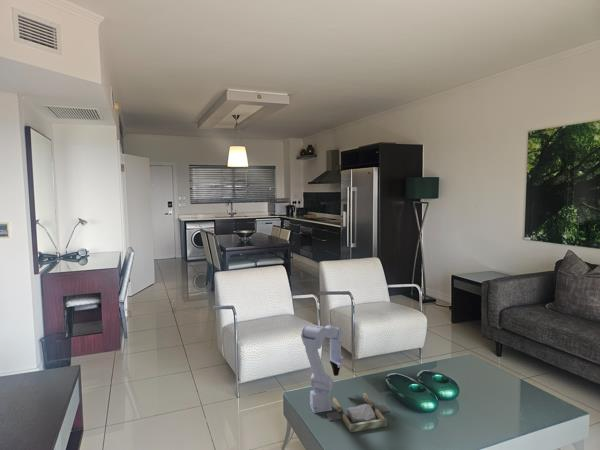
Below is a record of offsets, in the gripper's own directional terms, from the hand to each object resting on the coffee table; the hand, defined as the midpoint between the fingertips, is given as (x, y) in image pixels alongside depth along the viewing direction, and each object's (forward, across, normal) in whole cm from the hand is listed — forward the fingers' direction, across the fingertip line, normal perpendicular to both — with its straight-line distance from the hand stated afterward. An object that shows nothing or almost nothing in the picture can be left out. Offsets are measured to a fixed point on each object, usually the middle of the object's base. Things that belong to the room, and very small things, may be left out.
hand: (336, 375), depth 206 cm
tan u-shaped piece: (+9, -21, -4) cm, 23 cm away
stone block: (+10, -25, -4) cm, 27 cm away
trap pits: (+9, -21, -4) cm, 23 cm away
